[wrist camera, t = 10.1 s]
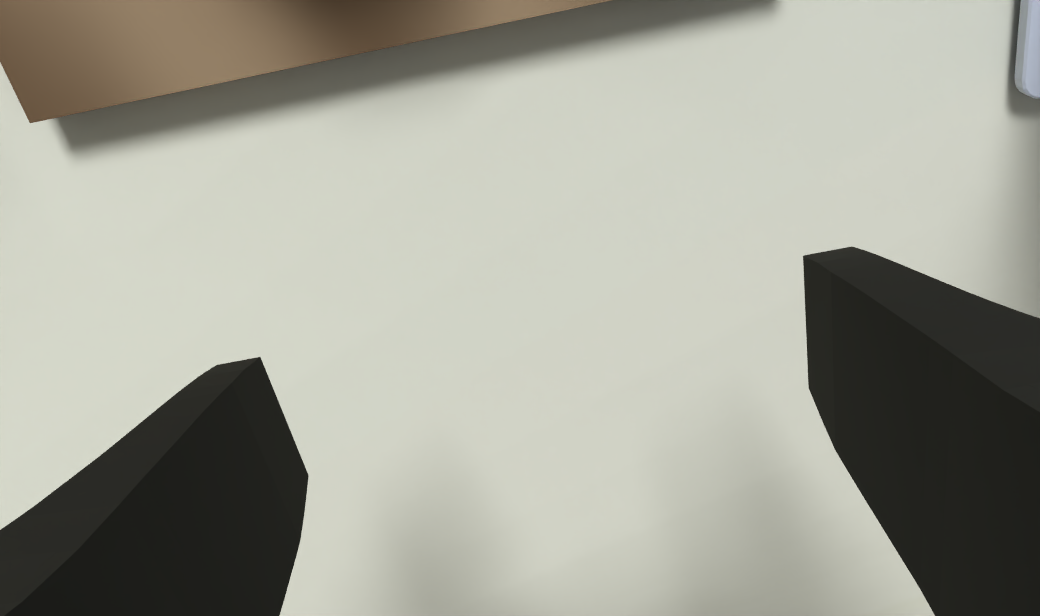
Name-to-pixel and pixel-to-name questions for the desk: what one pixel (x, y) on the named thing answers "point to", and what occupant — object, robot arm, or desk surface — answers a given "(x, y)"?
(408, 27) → the post board
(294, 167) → the desk surface
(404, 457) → the desk surface
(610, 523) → the desk surface
